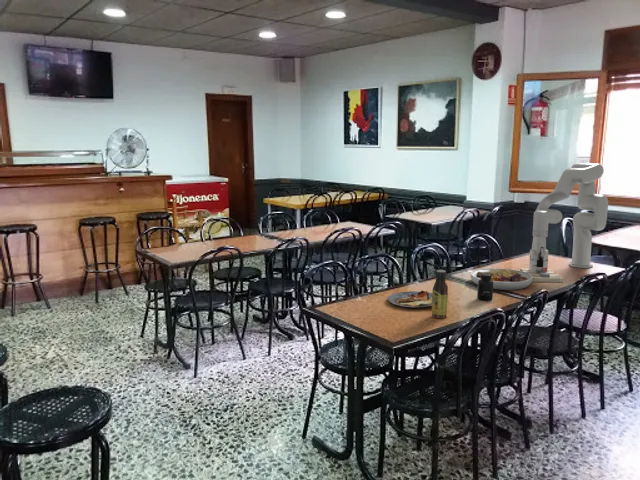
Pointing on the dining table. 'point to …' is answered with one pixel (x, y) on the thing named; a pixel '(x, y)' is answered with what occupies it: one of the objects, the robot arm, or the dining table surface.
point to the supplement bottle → (485, 288)
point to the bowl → (504, 278)
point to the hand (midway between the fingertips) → (538, 265)
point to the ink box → (534, 259)
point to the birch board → (538, 278)
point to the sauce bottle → (440, 295)
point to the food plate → (412, 299)
